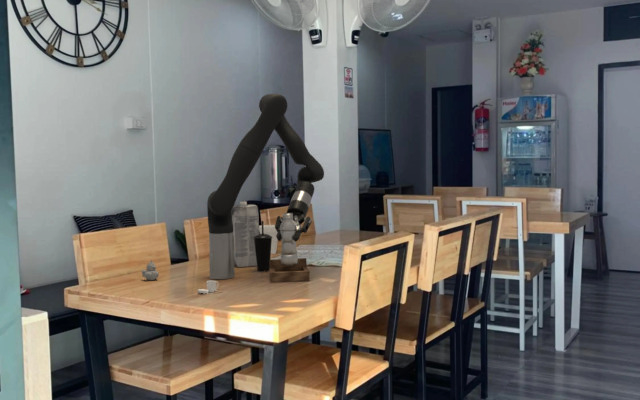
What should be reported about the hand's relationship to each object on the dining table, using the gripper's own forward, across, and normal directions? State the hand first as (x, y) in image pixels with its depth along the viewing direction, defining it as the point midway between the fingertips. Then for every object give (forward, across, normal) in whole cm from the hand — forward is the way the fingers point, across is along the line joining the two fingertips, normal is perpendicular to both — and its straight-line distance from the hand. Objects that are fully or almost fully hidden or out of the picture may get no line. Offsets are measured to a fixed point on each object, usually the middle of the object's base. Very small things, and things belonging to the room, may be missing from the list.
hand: (286, 239), depth 237 cm
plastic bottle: (+6, 0, +9) cm, 11 cm away
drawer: (+10, 0, +12) cm, 15 cm away
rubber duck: (+23, -49, -2) cm, 54 cm away
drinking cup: (+1, -18, +21) cm, 27 cm away
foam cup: (-29, -38, +50) cm, 69 cm away
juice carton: (-5, -30, +26) cm, 40 cm away
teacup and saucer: (+31, -18, -9) cm, 37 cm away
